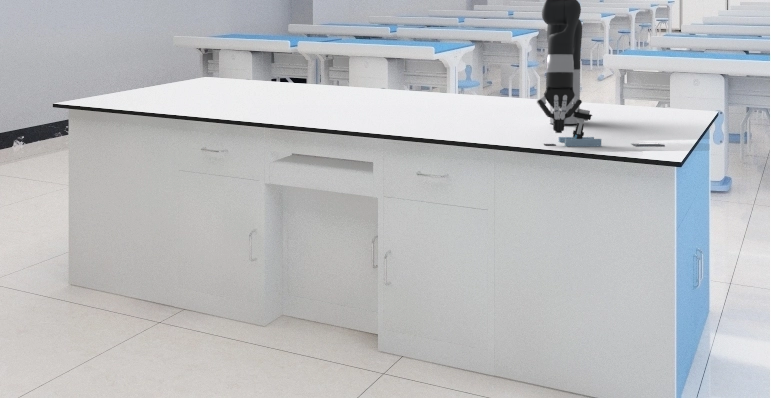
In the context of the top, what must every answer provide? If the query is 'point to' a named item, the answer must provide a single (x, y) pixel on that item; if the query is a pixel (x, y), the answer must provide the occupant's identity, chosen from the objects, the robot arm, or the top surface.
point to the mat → (648, 145)
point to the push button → (580, 122)
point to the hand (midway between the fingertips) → (558, 132)
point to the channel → (580, 141)
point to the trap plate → (550, 144)
